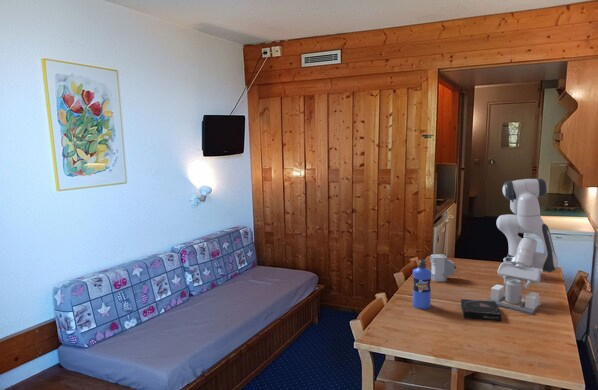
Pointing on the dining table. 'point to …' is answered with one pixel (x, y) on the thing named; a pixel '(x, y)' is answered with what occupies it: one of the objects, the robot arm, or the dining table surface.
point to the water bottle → (421, 286)
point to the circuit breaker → (441, 267)
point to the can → (513, 291)
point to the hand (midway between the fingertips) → (514, 286)
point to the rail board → (525, 306)
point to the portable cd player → (480, 310)
